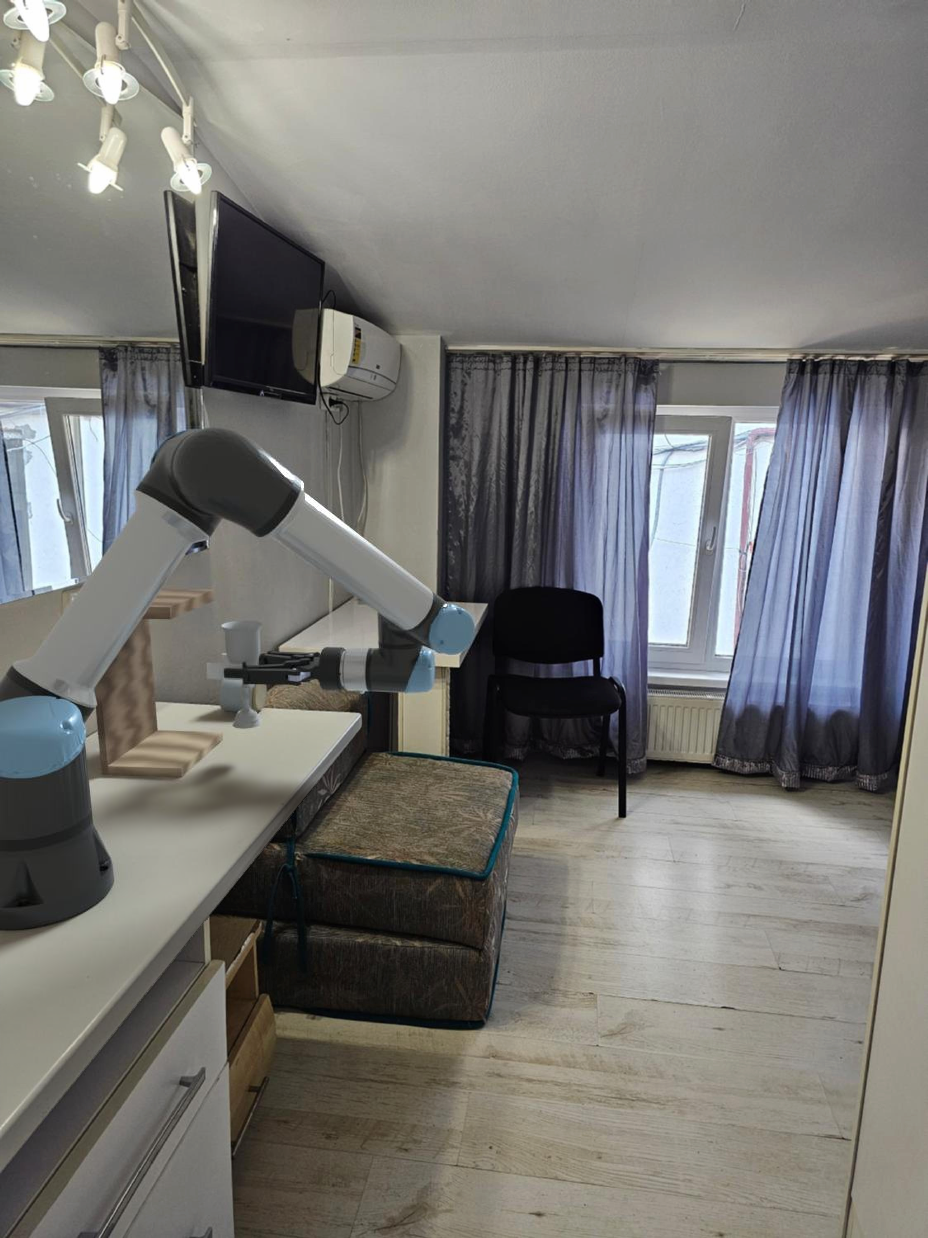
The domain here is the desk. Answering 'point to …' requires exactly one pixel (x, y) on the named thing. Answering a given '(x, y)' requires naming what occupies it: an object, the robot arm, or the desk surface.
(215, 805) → the desk surface
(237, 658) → the chalice
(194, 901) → the desk surface
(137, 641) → the walnut shelf
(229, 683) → the ceramic mug
